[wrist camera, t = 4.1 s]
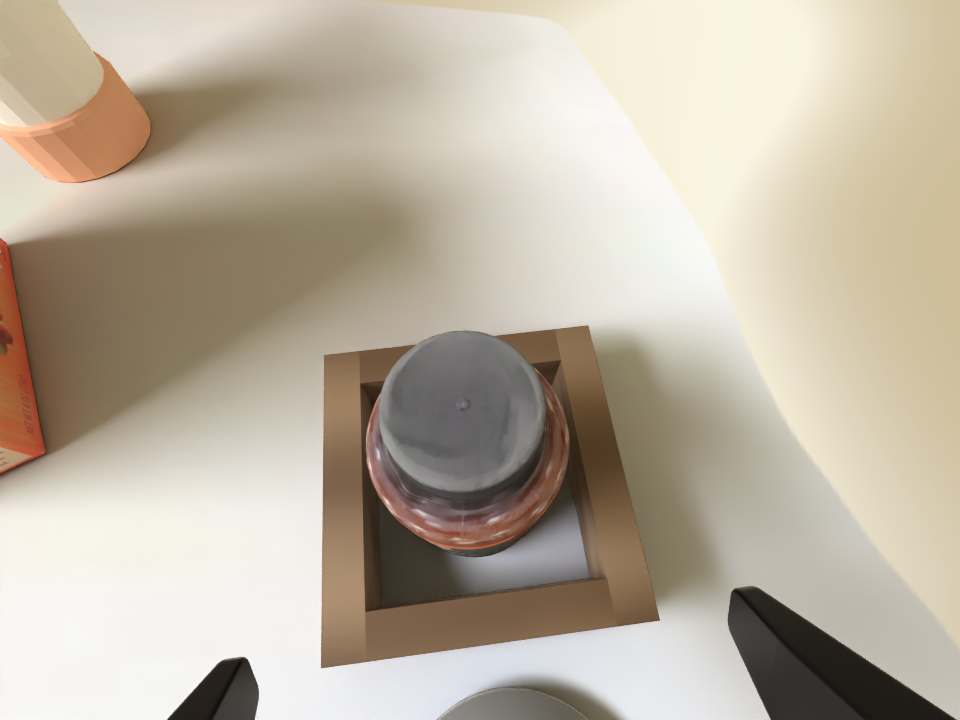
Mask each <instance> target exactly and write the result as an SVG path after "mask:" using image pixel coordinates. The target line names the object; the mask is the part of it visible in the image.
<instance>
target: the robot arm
mask: <svg viewBox="0 0 960 720" xmlns="http://www.w3.org/2000/svg"><path fill="white" fill-rule="evenodd" d="M728 626H729V630H730V633H731V635H732V637H733V640H734V642H735V644H736V646H737V648H738V650H739V653H740V655H741V657H742V659H743V661H744V663H745V666H746V668H747V670H748V672H749V674H750V676H751V678H752V681H753V683H754V685H755V687H756V689H757V691H758V694H759V696H760V698H761V700H762V702H763V704H764V707H765V709H766V711H767V713H768V715H769V717H770V719H771V720H956V719H955V718H953V717H952V716H950V715H949V714H947V713H946V712H944V711H943V710H941V709H940V708H938V707H937V706H935V705H934V704H932V703H931V702H929V701H928V700H926V699H925V698H923V697H922V696H920V695H919V694H917V693H916V692H914V691H913V690H911V689H910V688H908V687H907V686H905V685H904V684H902V683H901V682H899V681H898V680H896V679H895V678H893V677H892V676H890V675H889V674H887V673H886V672H884V671H883V670H881V669H880V668H878V667H877V666H875V665H874V664H872V663H871V662H869V661H868V660H866V659H865V658H863V657H862V656H860V655H859V654H857V653H856V652H854V651H853V650H851V649H850V648H848V647H847V646H845V645H844V644H842V643H841V642H839V641H838V640H836V639H835V638H833V637H832V636H830V635H829V634H827V633H826V632H824V631H823V630H821V629H820V628H818V627H817V626H815V625H814V624H812V623H811V622H809V621H808V620H806V619H804V618H803V617H801V616H800V615H798V614H797V613H795V612H794V611H792V610H791V609H789V608H788V607H786V606H785V605H783V604H782V603H780V602H779V601H777V600H776V599H774V598H773V597H771V596H770V595H768V594H767V593H765V592H764V591H762V590H761V589H759V588H757V587H754V586H748V587H741V588H735V589H734V590H733V591H732V593H731V598H730V606H729V613H728ZM258 700H259V689H258V685H257V682H256V679H255V677H254V674H253V671H252V669H251V666H250V663H249V661H248V659H246V658H245V657H237V658H230V659H225V660H222V661H221V662H219V663H218V664H217V665H216V666H215V667H214V668H213V669H212V671H211V672H210V673H209V674H208V675H207V676H206V677H205V678H204V679H203V680H202V682H201V683H200V684H199V685H198V686H197V687H196V688H195V689H194V690H193V691H192V693H191V694H190V695H189V696H188V697H187V698H186V699H185V700H184V701H183V703H182V704H181V705H180V706H179V707H178V708H177V709H176V710H175V711H174V712H173V714H172V715H171V716H170V717H169V718H168V719H167V720H255V715H256V710H257V705H258Z"/></svg>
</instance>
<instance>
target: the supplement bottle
mask: <svg viewBox="0 0 960 720" xmlns="http://www.w3.org/2000/svg"><path fill="white" fill-rule="evenodd" d="M569 444H570V440H569V430H568V425H567V420H566V416H565V414H564V410H563V407H562V405H561V403H560V401H559V399H558V397H557V395H556V393H555V392H554V390H553V389H552V387H551V386H550V384H549V383H548V382H547V380H546V379H545V378H544V377H543V376H542V375H541V374H540V373H539V372H538V370H537V369H535V368H534V367H533V366H532V365H531V363H530V362H529V360H528V359H526V357H525V356H524V355H523V354H522V353H521V352H520V351H519V350H518V349H516V348H515V347H513V346H512V345H511V344H509V343H507V342H505V341H503V340H501V339H499V338H497V337H495V336H491V335H488V334H485V333H480V332H474V331H453V332H448V333H444V334H439V335H436V336H432V337H430V338H428V339H426V340H424V341H422V342H420V343H419V344H417V345H416V346H414V347H413V348H411V349H410V350H409V351H408V352H407V353H405V354H404V355H403V356H402V357H401V358H400V359H399V360H398V361H397V363H396V364H395V365H394V366H393V368H392V369H391V371H390V373H389V374H388V376H387V377H386V379H385V382H384V385H383V388H382V391H381V394H380V395H379V397H378V399H377V400H376V403H375V406H374V408H373V411H372V413H371V416H370V419H369V423H368V428H367V434H366V455H367V466H368V469H369V474H370V476H371V479H372V482H373V485H374V487H375V489H376V491H377V493H378V496H379V497H380V499H381V500H382V502H383V503H384V505H385V506H386V507H387V509H388V510H389V511H390V513H391V514H392V515H393V516H394V517H395V518H396V519H397V520H398V521H399V522H400V523H401V524H403V525H404V526H405V527H406V528H408V529H409V530H411V531H412V532H413V533H414V534H416V535H417V536H419V537H421V538H423V539H425V540H426V541H428V542H430V543H432V544H434V545H436V546H437V547H439V548H441V549H443V550H445V551H447V552H450V553H453V554H456V555H460V556H466V557H483V556H490V555H493V554H496V553H498V552H501V551H503V550H505V549H506V548H508V547H510V546H511V545H513V544H514V543H515V542H517V541H518V540H519V539H520V538H522V537H523V536H524V535H525V534H526V533H527V532H528V531H529V530H530V529H531V527H532V526H533V525H534V524H535V523H536V522H537V521H538V520H539V518H540V517H541V516H542V515H543V514H544V513H545V511H546V510H547V508H548V507H549V506H550V504H551V503H552V501H553V500H554V498H555V496H556V495H557V493H558V491H559V489H560V487H561V484H562V482H563V479H564V476H565V472H566V468H567V463H568V458H569Z"/></svg>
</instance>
